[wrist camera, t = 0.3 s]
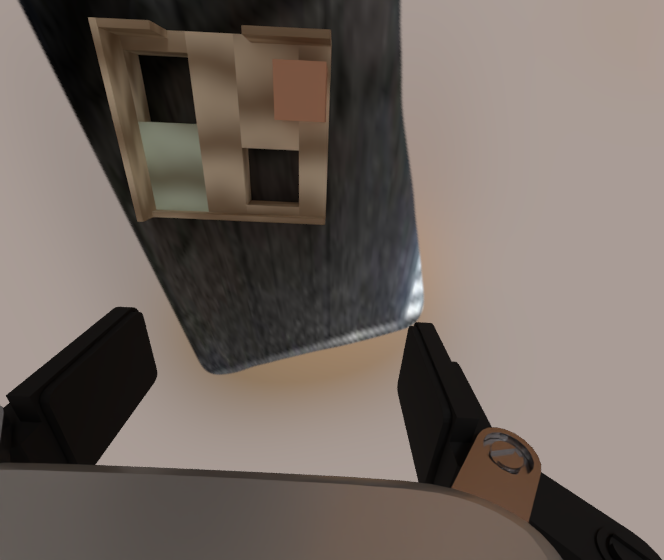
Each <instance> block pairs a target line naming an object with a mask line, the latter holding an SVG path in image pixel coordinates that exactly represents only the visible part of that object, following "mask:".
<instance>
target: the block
mask: <svg viewBox="0 0 664 560" xmlns="http://www.w3.org/2000/svg"><path fill="white" fill-rule="evenodd" d="M272 64H273V92H274V120H285V121H305V122H326V105H327V72H328V69H327V62H324V61H304V60H284V59H272Z"/></svg>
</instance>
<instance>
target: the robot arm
mask: <svg viewBox="0 0 664 560" xmlns="http://www.w3.org/2000/svg"><path fill="white" fill-rule="evenodd" d="M156 377H157V368H156V364H155V361H154V357H153V353H152V349H151V345H150V341H149V337H148V333H147V329H146V325H145V321H144V317H143V314H142V313H141V312H139V311H138V310H137V309H136V308H132V307H116V308H114V309H113V310H111V311H110V312H109V313H108V314H106V315H105V316H104V317H103V318H101V319H100V320H99V321H98V322H96V323H95V324H94V325H93V326H91V327H90V328H89V329H88V330H87V331H85V332H84V333H83V334H82V335H80V336H79V337H78V338H77V339H75V340H74V341H73V342H72V343H70V344H69V345H68V346H67V347H65V348H64V349H63V350H62V351H60V352H59V353H58V354H57V355H56V356H54V357H53V358H52V359H51V360H50V361H48V362H47V363H46V364H44V365H43V366H42V367H41V368H39V369H38V370H37V371H36V372H34V373H33V374H32V375H31V376H30V377H28V378H27V379H26V380H25V381H23V382H22V383H21V384H20V385H18V386H17V387H16V388H15V389H13V390H12V391H11V392H10V393H8V395H6V397H7V398H8V400H9V402H10V403H9V404H8V405H6V406H5V407H4V408H3V407H2V406H0V560H662V559H661V558H660V557H659V555H658V554H657V553H656V552H655V551H654V550H653V549H652V548H651V547H650V546H649V545H648V544H647V543H646V542H645V541H643V540H642V539H641V538H639V537H638V536H637V535H635V534H634V533H633V532H631V531H630V530H628V529H627V528H625V527H624V526H622V525H621V524H619V523H617V522H616V521H615V520H613V519H611V518H610V517H608V516H607V515H606V514H604V513H602V512H601V511H599V510H598V509H596V508H595V507H593V506H592V505H590V504H588V503H587V502H586V501H584V500H583V499H581V498H580V497H578V496H576V495H575V494H573V493H572V492H571V491H569V490H568V489H566V488H564V487H563V486H561V485H560V484H558V483H557V482H555V481H554V480H552V479H551V478H549V477H548V476H546V475H545V474H543V473H542V472H541V463H540V460H539V457H538V455H537V454H536V452H535V451H534V449H533V448H532V447H531V446H530V445H529V444H528V443H527V442H526V441H525V440H524V439H522V438H521V437H519V436H518V435H516V434H515V433H512V432H510V431H508V430H505V429H501V428H497V427H491V425H490V423H489V421H488V419H487V417H486V415H485V413H484V411H483V410H482V407H481V406H480V404H479V402H478V400H477V398H476V396H475V394H474V392H473V390H472V388H471V386H470V384H469V383H468V381H467V379H466V377H465V375H464V373H463V371H462V369H461V367H460V366H459V364H458V363H457V362H451V360H450V358H449V356H448V354H447V351H446V349H445V347H444V346H443V343H442V341H441V340H440V337H439V335H438V333H437V332H436V329H435V327H434V325H433V324H432V323H420V322H416V323H415V324H414V326H409V328H408V333H407V338H406V343H405V348H404V354H403V359H402V364H401V370H400V374H399V379H398V387H397V388H398V396H399V400H400V405H401V409H402V413H403V417H404V422H405V426H406V430H407V435H408V439H409V443H410V447H411V452H412V456H413V460H414V465H415V469H416V473H417V477H418V482H419V483H418V482H409V481H400V480H385V479H371V478H357V477H340V476H321V475H320V476H319V475H302V474H282V473H263V472H241V471H220V470H199V469H177V468H155V467H130V466H105V465H95V464H96V463H97V461H98V460H99V459H100V457H101V456H102V455H103V453H104V452H105V450H106V449H107V448H108V446H109V445H110V443H111V442H112V441H113V439H114V438H115V437H116V435H117V434H118V432H119V431H120V430H121V428H122V427H123V425H124V424H125V423H126V421H127V420H128V418H129V417H130V416H131V414H132V412H133V411H134V410H135V409H136V407H137V406H138V404H139V403H140V402H141V400H142V399H143V397H144V396H145V395H146V393H147V392H148V391H149V389H150V388H151V386H152V385H153V384H154V382H155V380H156Z"/></svg>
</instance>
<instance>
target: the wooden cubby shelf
mask: <svg viewBox="0 0 664 560" xmlns="http://www.w3.org/2000/svg"><path fill="white" fill-rule="evenodd" d="M88 20H89V24H90V28H91V32H92V36H93V40H94V44H95V48H96V53H97V57H98V61H99V65H100V69H101V73H102V77H103V81H104V86H105V90H106V94H107V98H108V102H109V106H110V110H111V114H112V118H113V123H114V127H115V131H116V135H117V139H118V143H119V147H120V151H121V156H122V160H123V164H124V168H125V172H126V176H127V180H128V184H129V189H130V193H131V197H132V201H133V205H134V209H135V213H136V217H137V221H138V222H144V221H146V220H148V219H150V218H152V217H166V218H187V219H209V220H231V221H253V222H274V223H296V224H318V225H325V218H326V193H327V164H328V135H329V107H330V78H331V49H332V43H331V30H327V29H308V28H288V27H269V26H249V25H241V29H242V34H229V33H209V32H190V31H170V30H165V29H163V28H162V27H160V26H158V25H156V24H155V23H153V22H151V21H149V20H132V19H112V18H93V17H88ZM138 55H151V56H171V57H188V62H189V69H190V77H191V84H192V91H193V99H194V106H195V113H196V121H197V124H185V123H165V122H151V119H150V114H149V108H148V103H147V98H146V93H145V88H144V83H143V78H142V72H141V67H140V62H139V57H138ZM272 59H284V60H304V61H324V62H327V69H328V72H327V105H326V122H305V121H285V120H274V92H273V64H272ZM248 148H257V149H278V150H299V202H280V201H258V200H252V196H251V182H250V168H249V154H248Z"/></svg>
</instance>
